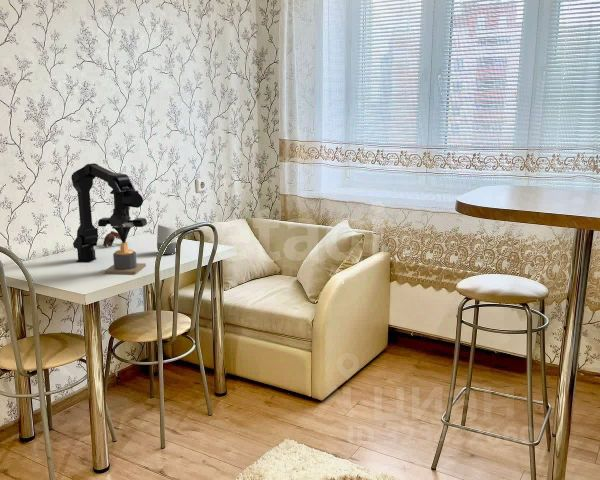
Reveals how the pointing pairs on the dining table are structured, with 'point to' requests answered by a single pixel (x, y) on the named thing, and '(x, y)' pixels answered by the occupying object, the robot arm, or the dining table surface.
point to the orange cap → (124, 250)
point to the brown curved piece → (110, 238)
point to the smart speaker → (162, 236)
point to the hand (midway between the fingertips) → (123, 242)
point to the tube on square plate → (125, 265)
